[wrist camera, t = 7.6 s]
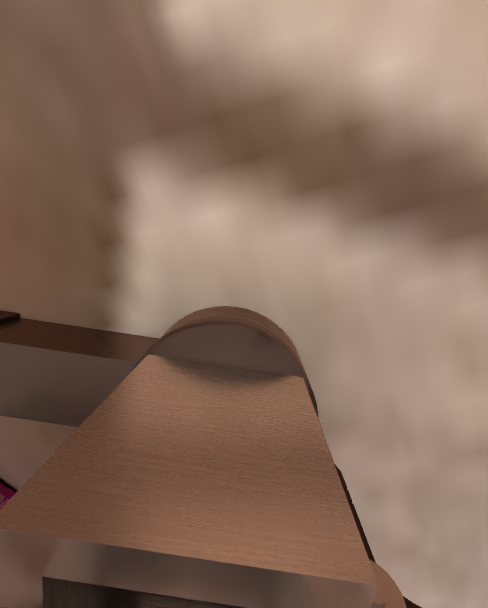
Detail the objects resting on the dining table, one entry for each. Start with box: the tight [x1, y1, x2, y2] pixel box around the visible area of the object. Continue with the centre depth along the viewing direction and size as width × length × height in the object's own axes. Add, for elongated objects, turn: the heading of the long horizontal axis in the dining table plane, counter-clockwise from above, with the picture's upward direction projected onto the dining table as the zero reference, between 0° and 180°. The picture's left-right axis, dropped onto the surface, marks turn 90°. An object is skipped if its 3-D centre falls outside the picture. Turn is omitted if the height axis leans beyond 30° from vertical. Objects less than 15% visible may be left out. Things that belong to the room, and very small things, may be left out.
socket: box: [0, 354, 378, 608], centre depth 7 cm, size 6×6×6 cm
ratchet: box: [0, 306, 318, 427], centre depth 11 cm, size 22×8×8 cm, turn 82°
